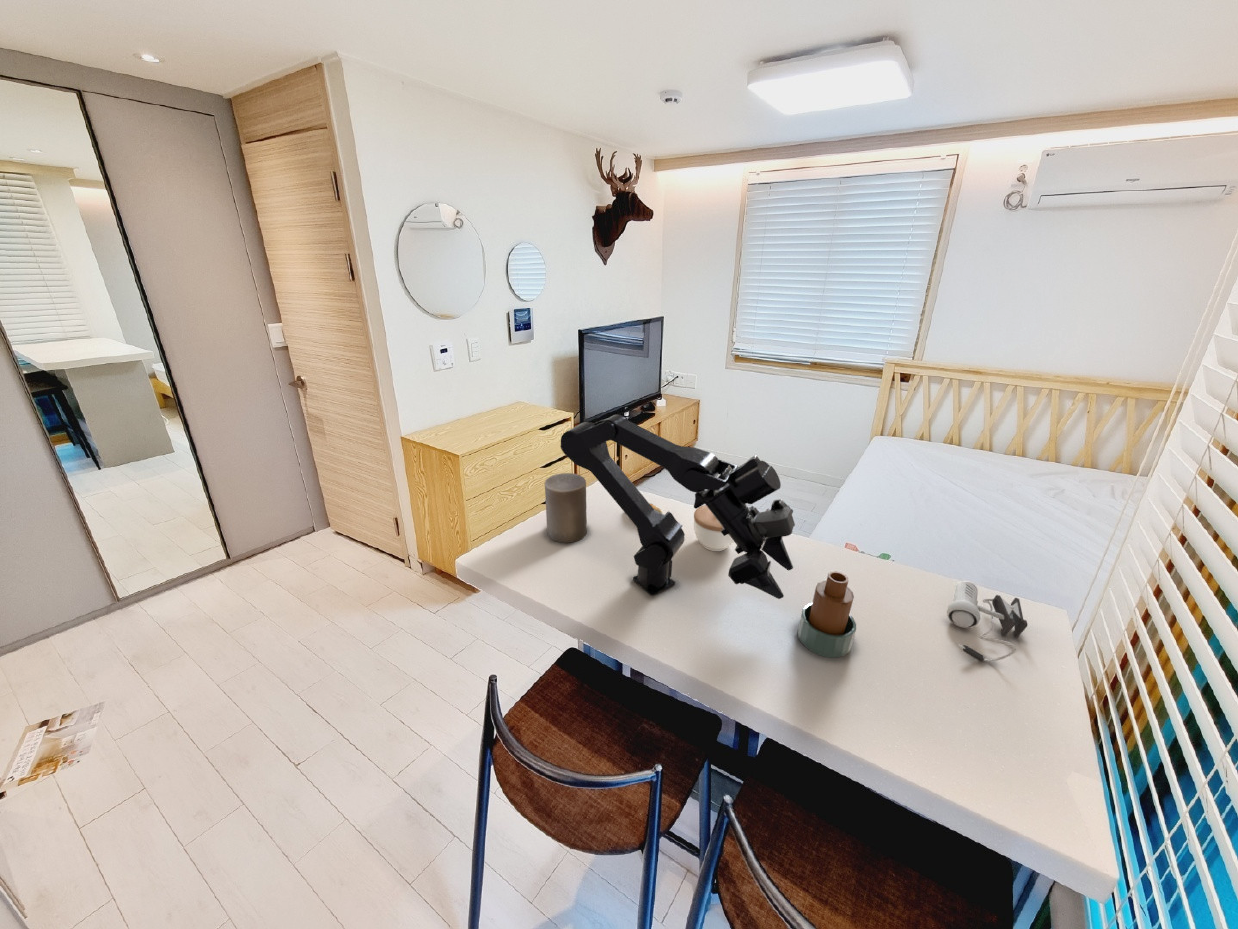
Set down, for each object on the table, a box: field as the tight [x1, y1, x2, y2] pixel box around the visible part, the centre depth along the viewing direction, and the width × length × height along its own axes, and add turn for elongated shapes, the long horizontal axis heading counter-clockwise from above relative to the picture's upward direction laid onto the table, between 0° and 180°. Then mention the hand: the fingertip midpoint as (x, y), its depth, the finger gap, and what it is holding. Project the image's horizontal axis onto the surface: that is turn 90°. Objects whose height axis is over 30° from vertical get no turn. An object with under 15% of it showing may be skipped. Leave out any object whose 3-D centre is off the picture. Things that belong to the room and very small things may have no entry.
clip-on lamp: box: [946, 580, 1029, 662], centre depth 91 cm, size 12×6×18 cm
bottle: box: [808, 571, 855, 636], centre depth 88 cm, size 6×6×13 cm
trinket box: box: [693, 504, 735, 552], centre depth 116 cm, size 11×11×9 cm
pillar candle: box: [544, 472, 588, 544], centre depth 118 cm, size 10×10×15 cm
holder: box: [797, 602, 857, 659], centre depth 90 cm, size 9×9×5 cm
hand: (786, 582), depth 90 cm, fingers open, 9 cm apart
